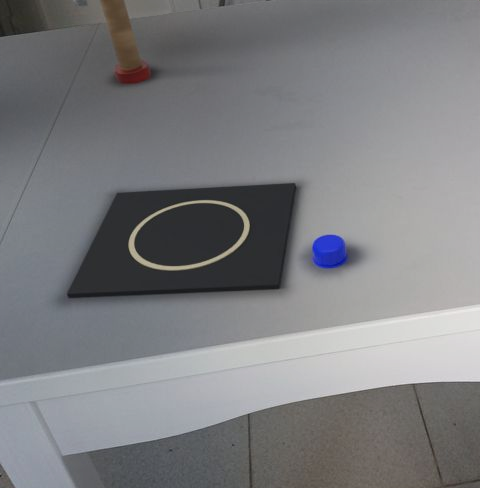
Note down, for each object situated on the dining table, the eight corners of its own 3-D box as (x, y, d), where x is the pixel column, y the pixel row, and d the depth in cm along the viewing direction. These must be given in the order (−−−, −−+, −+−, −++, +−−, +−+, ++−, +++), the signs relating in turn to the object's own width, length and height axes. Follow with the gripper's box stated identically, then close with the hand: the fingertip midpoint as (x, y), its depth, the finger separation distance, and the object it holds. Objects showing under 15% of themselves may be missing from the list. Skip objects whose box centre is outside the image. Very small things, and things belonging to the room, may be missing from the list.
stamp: (113, 85, 94) (80, -23, 85) (122, 72, 97) (91, -34, 88) (146, 83, 93) (116, -26, 84) (154, 69, 96) (126, -37, 88)
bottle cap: (307, 265, 62) (304, 249, 61) (322, 246, 64) (320, 229, 63) (339, 272, 61) (337, 255, 60) (353, 252, 63) (351, 235, 62)
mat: (68, 299, 61) (65, 292, 61) (118, 197, 73) (116, 191, 72) (279, 290, 60) (278, 283, 59) (296, 187, 71) (295, 181, 71)
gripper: (15, -116, 88) (24, -5, 88) (181, -134, 88) (191, -23, 88) (38, -83, 95) (46, 20, 94) (193, -100, 94) (202, 4, 94)
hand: (117, 0), depth 91 cm, fingers open, 8 cm apart
